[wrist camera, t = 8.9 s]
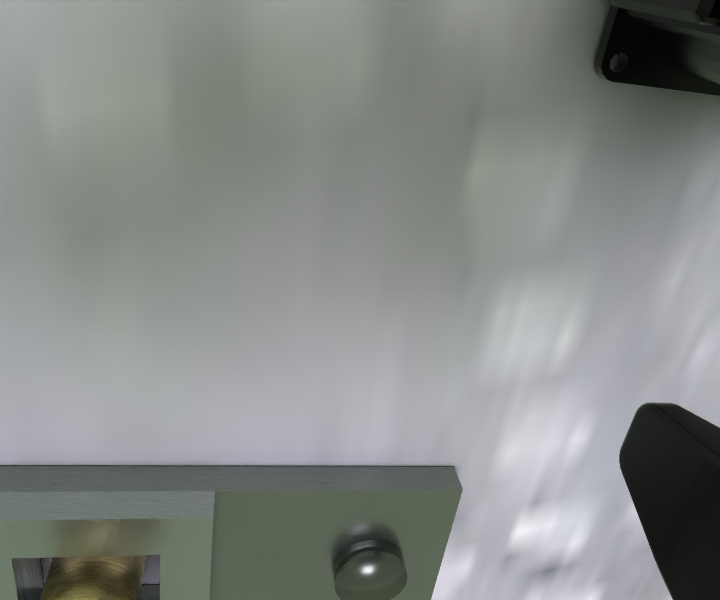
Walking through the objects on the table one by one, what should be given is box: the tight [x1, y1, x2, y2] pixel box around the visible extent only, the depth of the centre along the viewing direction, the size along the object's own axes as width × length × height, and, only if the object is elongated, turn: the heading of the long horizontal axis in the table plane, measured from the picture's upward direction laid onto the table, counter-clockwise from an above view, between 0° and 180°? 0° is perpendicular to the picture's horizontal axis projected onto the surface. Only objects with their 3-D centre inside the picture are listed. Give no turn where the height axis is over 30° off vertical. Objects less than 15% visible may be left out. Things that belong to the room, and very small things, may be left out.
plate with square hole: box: [0, 466, 463, 600], centre depth 23 cm, size 26×8×3 cm, turn 82°
